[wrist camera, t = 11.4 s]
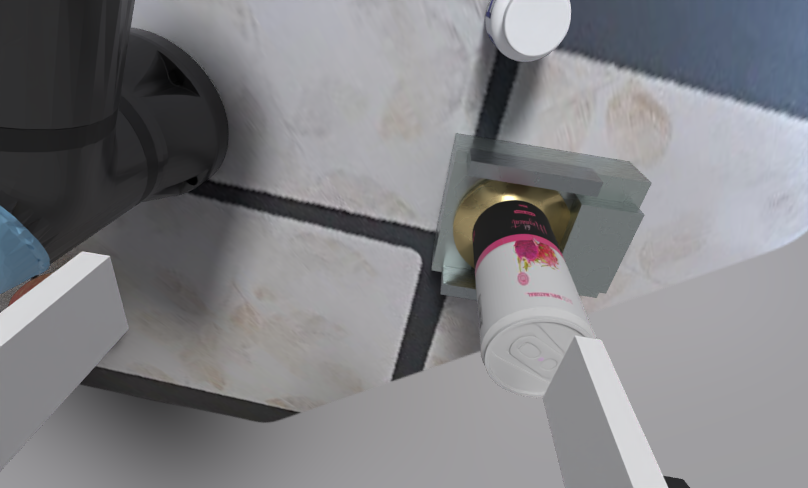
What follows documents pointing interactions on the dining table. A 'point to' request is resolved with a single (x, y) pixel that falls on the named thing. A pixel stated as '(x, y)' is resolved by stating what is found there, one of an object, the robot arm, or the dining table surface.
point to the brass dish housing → (552, 193)
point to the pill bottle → (527, 26)
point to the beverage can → (523, 298)
